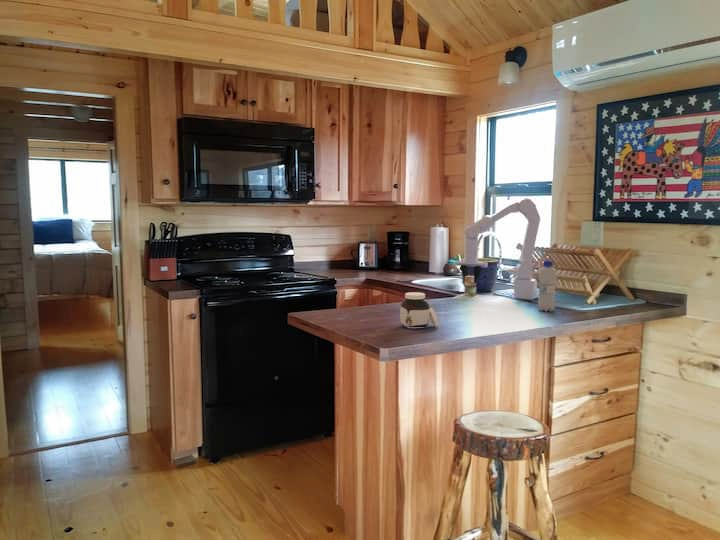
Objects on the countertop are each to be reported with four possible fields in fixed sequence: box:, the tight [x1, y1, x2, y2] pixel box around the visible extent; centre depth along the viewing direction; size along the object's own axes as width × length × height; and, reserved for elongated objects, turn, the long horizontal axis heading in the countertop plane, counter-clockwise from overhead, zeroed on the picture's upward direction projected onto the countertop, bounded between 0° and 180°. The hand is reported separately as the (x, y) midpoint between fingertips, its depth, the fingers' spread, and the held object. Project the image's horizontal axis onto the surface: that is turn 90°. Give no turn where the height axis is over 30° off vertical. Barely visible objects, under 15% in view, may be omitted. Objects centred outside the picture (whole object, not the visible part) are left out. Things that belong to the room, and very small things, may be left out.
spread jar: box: [399, 291, 440, 328], centre depth 199 cm, size 12×11×12 cm
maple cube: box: [465, 276, 476, 286], centre depth 260 cm, size 4×4×4 cm
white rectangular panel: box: [450, 292, 507, 304], centre depth 256 cm, size 20×16×1 cm
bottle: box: [537, 260, 558, 313], centre depth 228 cm, size 7×7×20 cm
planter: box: [461, 257, 499, 293], centre depth 276 cm, size 17×17×15 cm
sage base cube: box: [464, 286, 477, 297], centre depth 261 cm, size 4×4×4 cm
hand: (470, 282), depth 260 cm, fingers closed on maple cube, 4 cm apart
